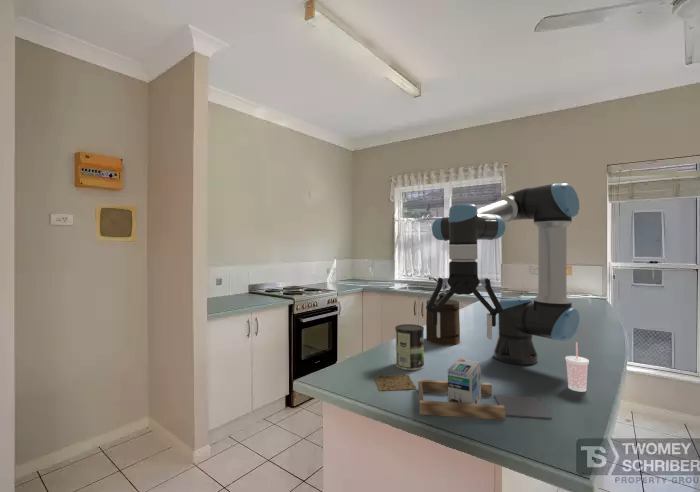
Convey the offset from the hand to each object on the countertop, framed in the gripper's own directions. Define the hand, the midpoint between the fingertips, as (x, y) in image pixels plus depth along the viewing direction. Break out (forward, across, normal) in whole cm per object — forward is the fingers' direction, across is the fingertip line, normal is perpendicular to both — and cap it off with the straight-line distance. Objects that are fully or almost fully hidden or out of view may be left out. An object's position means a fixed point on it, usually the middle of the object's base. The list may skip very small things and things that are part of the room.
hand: (463, 337), depth 97 cm
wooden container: (+18, 0, -64) cm, 67 cm away
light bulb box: (+19, 0, 0) cm, 19 cm away
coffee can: (+19, +15, -29) cm, 38 cm away
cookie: (+19, +20, -12) cm, 30 cm away
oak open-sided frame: (+18, +2, 0) cm, 18 cm away
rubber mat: (+18, -15, 0) cm, 24 cm away
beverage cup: (+18, -35, -15) cm, 43 cm away
